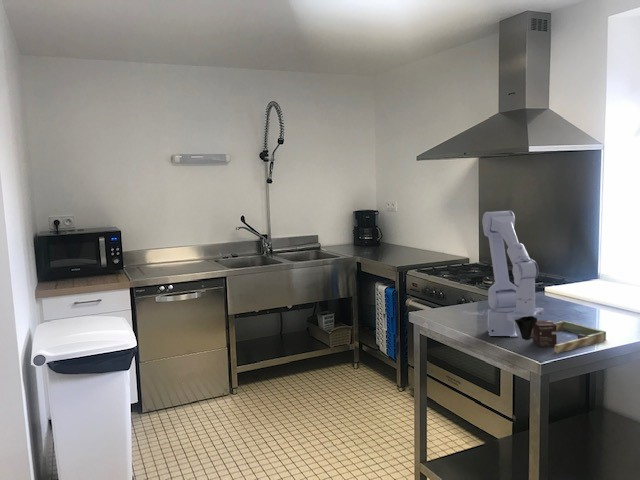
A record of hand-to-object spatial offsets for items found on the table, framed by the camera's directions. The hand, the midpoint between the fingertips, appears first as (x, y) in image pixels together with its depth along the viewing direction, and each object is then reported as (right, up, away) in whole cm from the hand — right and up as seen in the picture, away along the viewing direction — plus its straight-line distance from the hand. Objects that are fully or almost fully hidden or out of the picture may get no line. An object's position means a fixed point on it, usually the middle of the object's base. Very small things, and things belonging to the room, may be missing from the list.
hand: (525, 339), depth 172 cm
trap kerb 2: (+20, -2, +3) cm, 20 cm away
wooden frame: (+14, -2, +7) cm, 16 cm away
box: (+8, -3, +4) cm, 9 cm away
